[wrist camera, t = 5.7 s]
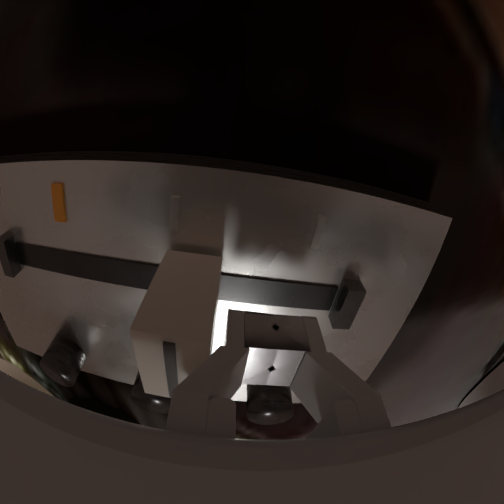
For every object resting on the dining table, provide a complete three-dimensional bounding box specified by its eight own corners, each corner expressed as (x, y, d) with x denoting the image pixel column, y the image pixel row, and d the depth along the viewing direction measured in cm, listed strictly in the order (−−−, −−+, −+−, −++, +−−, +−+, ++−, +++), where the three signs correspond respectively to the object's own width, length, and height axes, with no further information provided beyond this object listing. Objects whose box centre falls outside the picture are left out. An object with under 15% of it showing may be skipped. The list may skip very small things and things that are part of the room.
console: (428, 202, 11) (480, 239, 8) (344, 378, 17) (357, 425, 14) (-14, 157, 9) (-62, 180, 5) (28, 328, 15) (5, 364, 12)
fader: (222, 257, 10) (210, 345, 6) (216, 319, 11) (206, 405, 7) (167, 249, 9) (128, 332, 6) (168, 313, 11) (144, 395, 7)
